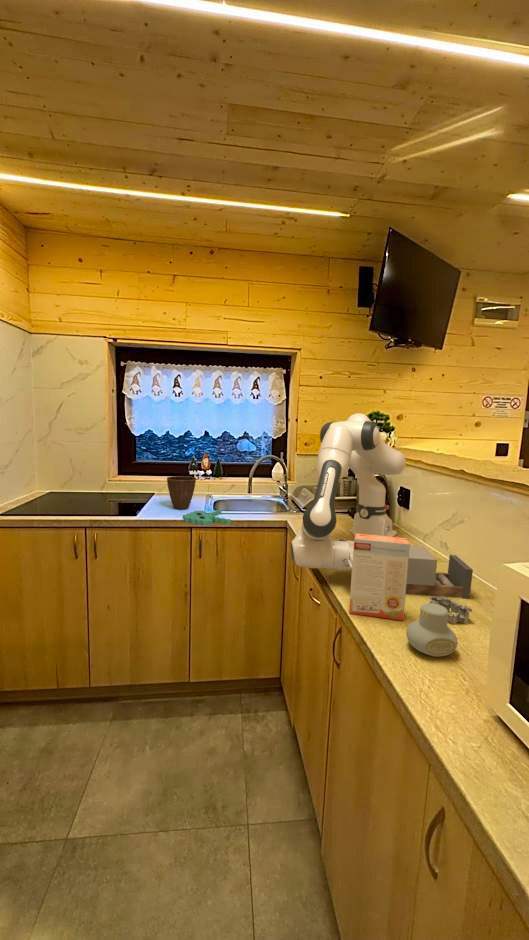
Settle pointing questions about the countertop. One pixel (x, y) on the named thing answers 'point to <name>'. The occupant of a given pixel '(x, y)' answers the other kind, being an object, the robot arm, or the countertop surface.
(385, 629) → the countertop surface
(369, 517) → the robot arm
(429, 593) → the roller bed
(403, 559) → the cracker box
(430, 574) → the grey cardboard box
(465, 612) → the egg carton
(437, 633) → the air freshener
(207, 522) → the alien figure
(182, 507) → the plant pot
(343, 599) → the countertop surface
